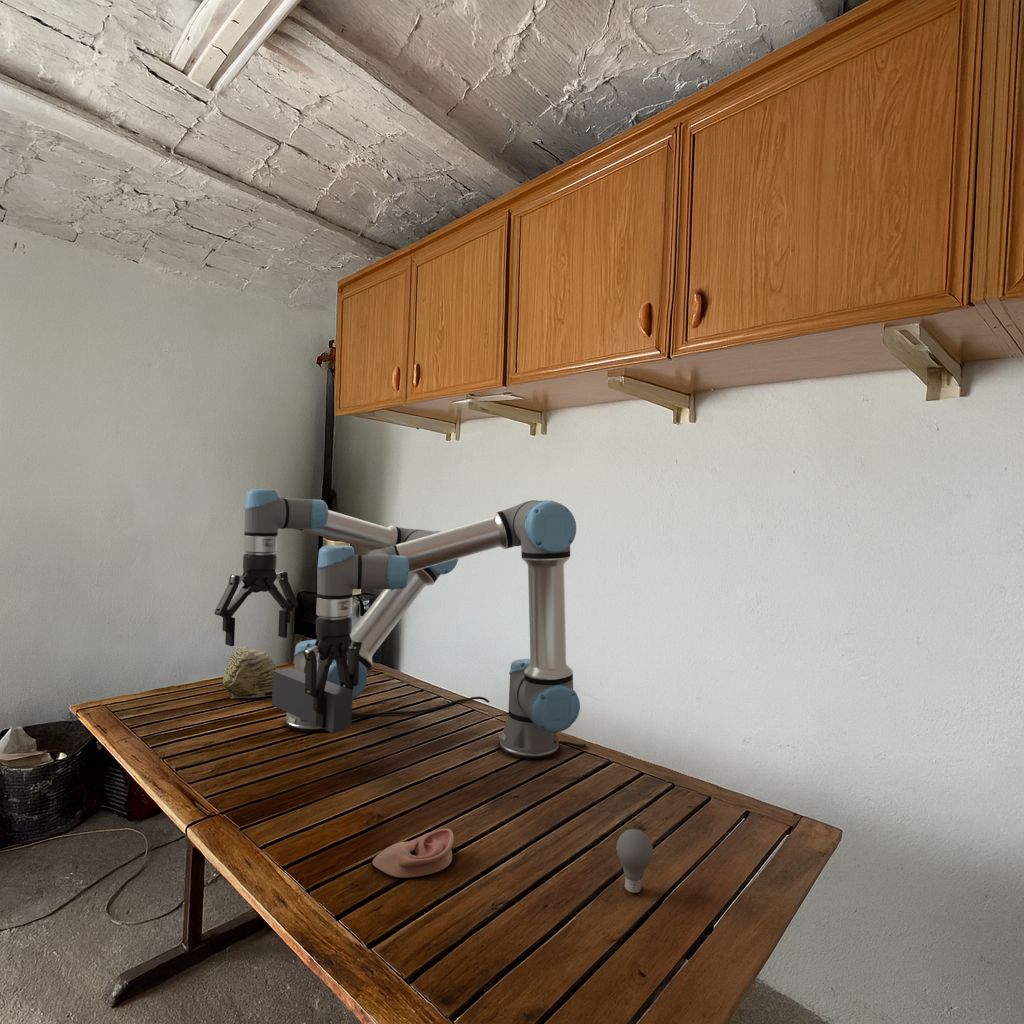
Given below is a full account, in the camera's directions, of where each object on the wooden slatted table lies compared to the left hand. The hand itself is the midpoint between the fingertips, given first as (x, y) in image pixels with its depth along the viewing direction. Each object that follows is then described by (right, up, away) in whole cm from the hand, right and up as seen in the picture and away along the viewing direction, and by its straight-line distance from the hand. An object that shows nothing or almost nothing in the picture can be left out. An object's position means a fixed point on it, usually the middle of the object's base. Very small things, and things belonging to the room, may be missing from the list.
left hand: (257, 641), depth 153 cm
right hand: (+22, -15, -15) cm, 30 cm away
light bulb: (+82, -32, -47) cm, 100 cm away
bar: (+16, -15, -9) cm, 24 cm away
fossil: (-19, -26, +45) cm, 55 cm away
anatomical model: (+44, -30, -41) cm, 68 cm away
